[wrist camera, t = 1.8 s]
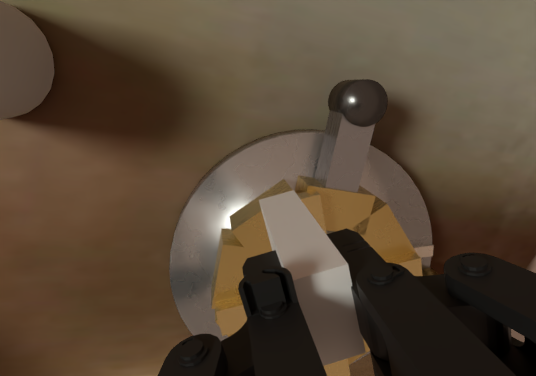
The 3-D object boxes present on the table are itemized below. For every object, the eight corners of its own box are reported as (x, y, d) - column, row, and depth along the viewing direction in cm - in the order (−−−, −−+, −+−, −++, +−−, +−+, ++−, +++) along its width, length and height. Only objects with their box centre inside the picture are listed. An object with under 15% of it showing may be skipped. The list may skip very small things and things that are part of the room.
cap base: (227, 395, 35) (231, 474, 28) (126, 186, 29) (99, 220, 22) (439, 310, 37) (495, 366, 29) (389, 90, 30) (445, 92, 23)
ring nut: (369, 352, 34) (390, 388, 30) (201, 341, 31) (200, 379, 27) (444, 100, 28) (483, 103, 24) (251, 58, 26) (258, 53, 22)
